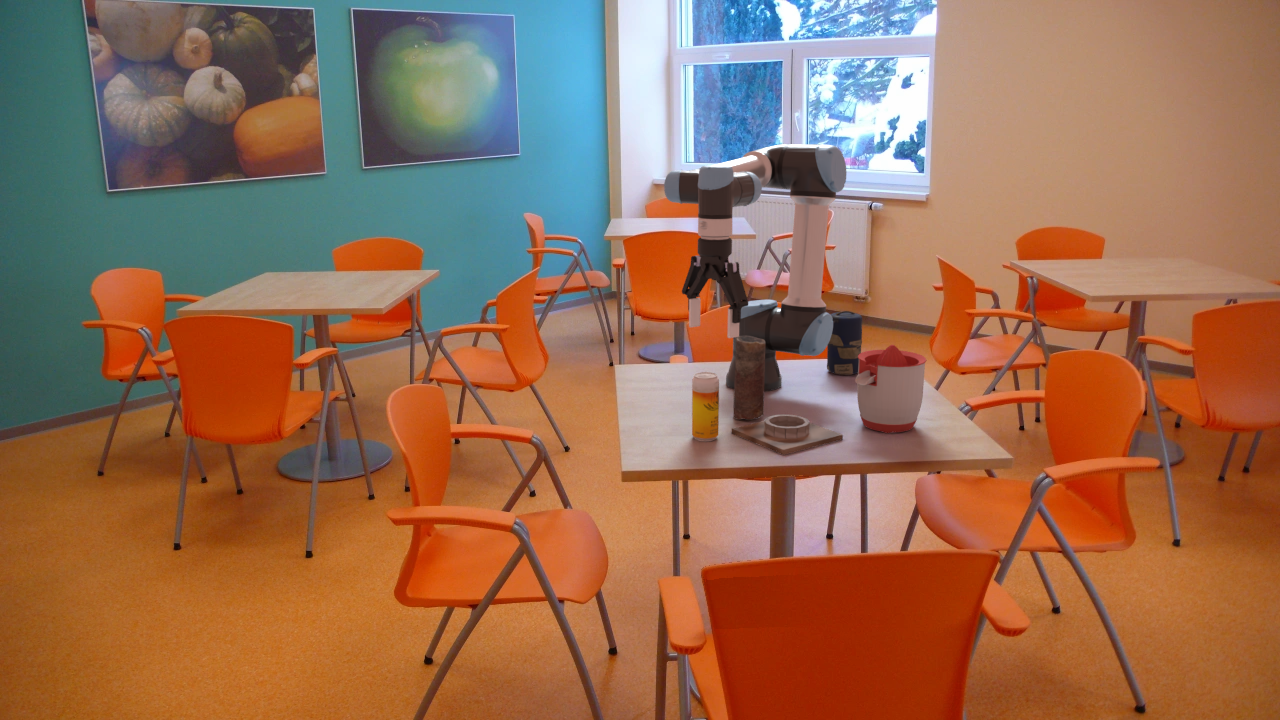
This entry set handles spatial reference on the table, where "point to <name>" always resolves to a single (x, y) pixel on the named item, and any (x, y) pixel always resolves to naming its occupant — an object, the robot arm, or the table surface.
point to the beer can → (705, 406)
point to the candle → (749, 378)
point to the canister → (845, 343)
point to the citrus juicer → (890, 388)
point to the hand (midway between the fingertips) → (713, 331)
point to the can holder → (786, 434)
